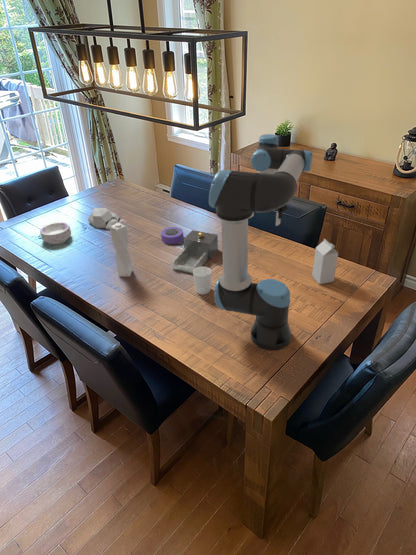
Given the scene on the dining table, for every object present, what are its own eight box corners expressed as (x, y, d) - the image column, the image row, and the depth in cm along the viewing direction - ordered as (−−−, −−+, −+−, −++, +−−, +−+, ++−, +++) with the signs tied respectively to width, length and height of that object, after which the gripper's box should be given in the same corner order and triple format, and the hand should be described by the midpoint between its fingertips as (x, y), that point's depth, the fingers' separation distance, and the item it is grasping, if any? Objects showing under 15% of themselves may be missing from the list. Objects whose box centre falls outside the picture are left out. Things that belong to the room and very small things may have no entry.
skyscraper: (136, 269, 201) (128, 216, 185) (133, 279, 194) (124, 224, 179) (118, 269, 201) (109, 216, 186) (115, 279, 194) (105, 224, 179)
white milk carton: (319, 284, 186) (324, 247, 175) (311, 276, 191) (316, 239, 181) (333, 282, 187) (340, 244, 177) (325, 273, 193) (331, 237, 182)
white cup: (201, 283, 189) (200, 264, 184) (215, 289, 185) (215, 270, 179) (190, 291, 184) (189, 272, 179) (204, 297, 180) (203, 278, 174)
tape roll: (171, 247, 217) (171, 239, 215) (157, 240, 224) (156, 232, 221) (188, 239, 224) (187, 231, 222) (173, 232, 231) (172, 224, 228)
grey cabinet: (197, 275, 194) (196, 255, 188) (171, 269, 199) (169, 249, 193) (218, 249, 214) (217, 230, 208) (193, 245, 219) (192, 226, 212)
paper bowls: (38, 241, 227) (35, 228, 223) (64, 232, 235) (61, 219, 231) (50, 251, 218) (47, 237, 213) (77, 241, 226) (74, 228, 221)
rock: (118, 216, 251) (116, 201, 246) (124, 230, 236) (122, 214, 230) (87, 221, 247) (84, 206, 241) (91, 236, 231) (88, 220, 225)
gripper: (298, 177, 168) (293, 224, 180) (246, 165, 181) (245, 211, 193) (289, 182, 163) (285, 231, 175) (236, 170, 176) (236, 216, 188)
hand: (264, 220), depth 184 cm, fingers open, 13 cm apart
